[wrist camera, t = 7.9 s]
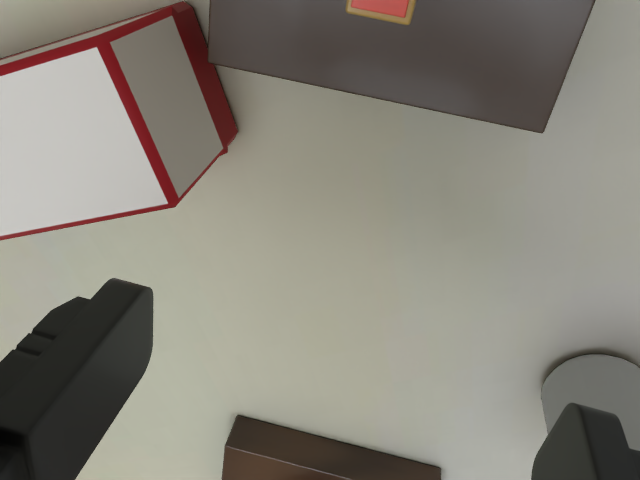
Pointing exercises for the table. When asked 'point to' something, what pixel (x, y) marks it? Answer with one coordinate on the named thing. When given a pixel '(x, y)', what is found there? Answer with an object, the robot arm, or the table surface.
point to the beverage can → (596, 391)
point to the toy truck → (108, 123)
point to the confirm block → (308, 457)
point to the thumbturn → (383, 9)
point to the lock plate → (412, 52)
